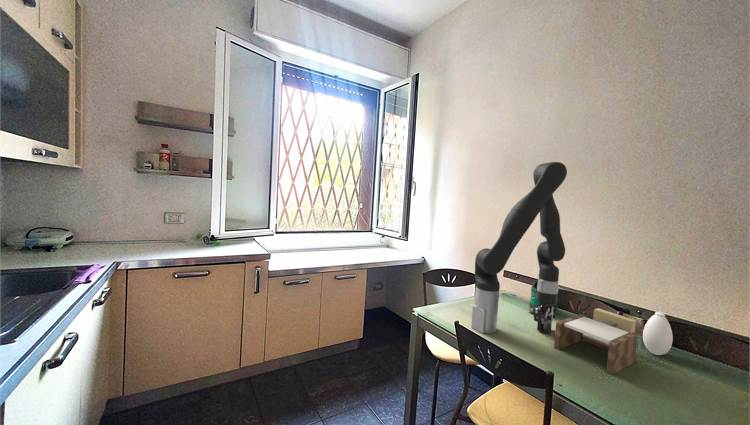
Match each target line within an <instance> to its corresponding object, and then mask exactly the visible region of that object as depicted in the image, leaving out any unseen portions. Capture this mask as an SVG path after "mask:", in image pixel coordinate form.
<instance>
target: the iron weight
mask: <svg viewBox="0 0 750 425" xmlns="http://www.w3.org/2000/svg"><path fill="white" fill-rule="evenodd" d="M541 320H542V317H541ZM552 324H553V321H552V320H551V319H549V318H546V319H545V320H544V328H543V332H540V331H538V332H540V333H542V334H547V335H549V334H552Z"/></svg>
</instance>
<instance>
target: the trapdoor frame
mask: <svg viewBox="0 0 750 425" xmlns="http://www.w3.org/2000/svg"><path fill="white" fill-rule="evenodd" d="M582 317H586V315H585V314H581V313H580V314H577V315H573V316H569V317H567V318H564V319H561V320H557V321H556V322H555V333H554V343H553V344H554V346H553V348H554V349H556V350H558V351H559V350H561V349H565V348H567V347H570V346H571V345H573V344H574V345H575V344H576V343H578V342H586V343H588V344H590V345H593V346H595V347H598V348H600V349H602V350H605V351H607V362H606V370H605V371H606V372H605V373H607V374H608V375H610V376H613V375H615V374H617V373H619V372H620V371H622V370H624V369H625V368H628V367H629V366H630V365H633V364H635V363H636V362H638V358H639V356H638V355H637V346H638V338H639V334H638V333H637V332H635V333H633V332H632V333H630V334H627V335H625V336H623V337H621V338H619V339H616V340H614V341H612V342H610V343H609V344H608V343H606V342H603V341H601V340H598V339H596V338H593V337H591V336H588V335H586V334H583V333H581V332H578V331H576V330H573V329H571V328H568V327H566V326H564V323H566V322H569V321H573V320H576V319H579V318H582Z"/></svg>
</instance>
